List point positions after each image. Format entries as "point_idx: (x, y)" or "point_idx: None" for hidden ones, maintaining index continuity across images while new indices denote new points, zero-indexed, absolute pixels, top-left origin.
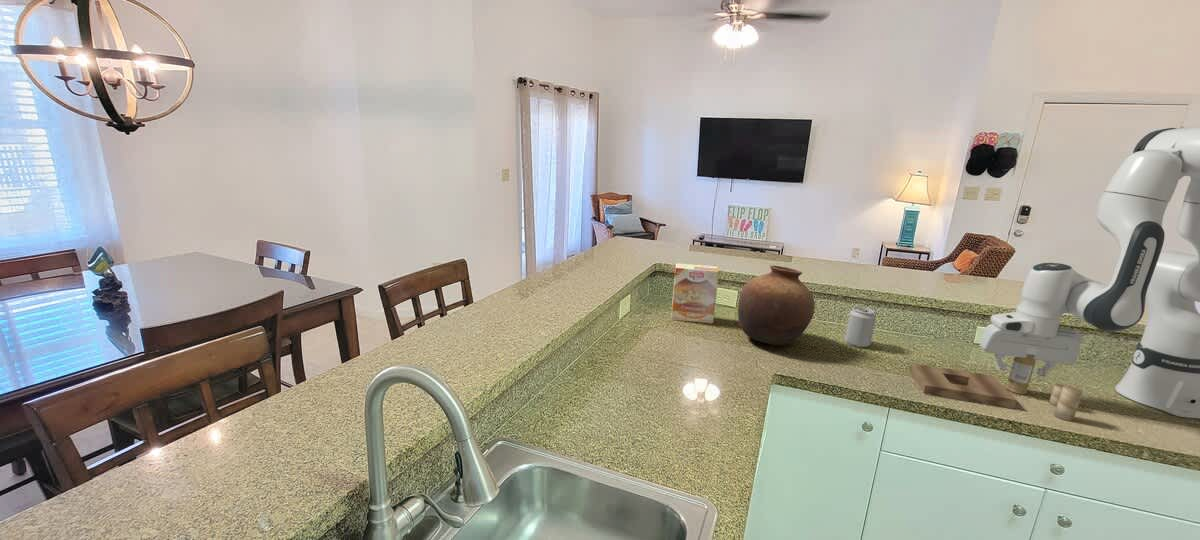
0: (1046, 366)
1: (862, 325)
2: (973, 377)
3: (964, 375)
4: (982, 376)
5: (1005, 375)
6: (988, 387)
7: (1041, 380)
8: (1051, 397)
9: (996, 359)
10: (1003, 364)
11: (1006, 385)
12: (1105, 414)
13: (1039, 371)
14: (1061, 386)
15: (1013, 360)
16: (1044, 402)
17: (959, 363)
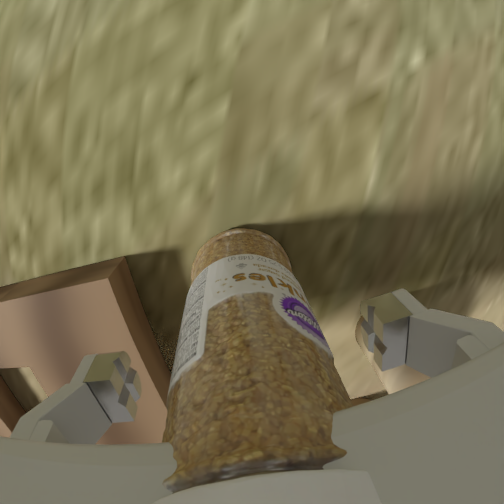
0: (438, 349)
1: None
2: (41, 363)
3: (12, 358)
4: (65, 329)
5: (228, 45)
6: (108, 432)
7: (405, 29)
8: (367, 351)
9: (53, 399)
10: (111, 424)
11: (192, 275)
12: (495, 297)
13: (374, 345)
14: (424, 375)
15: (167, 402)
16: (338, 335)
17: (16, 44)
